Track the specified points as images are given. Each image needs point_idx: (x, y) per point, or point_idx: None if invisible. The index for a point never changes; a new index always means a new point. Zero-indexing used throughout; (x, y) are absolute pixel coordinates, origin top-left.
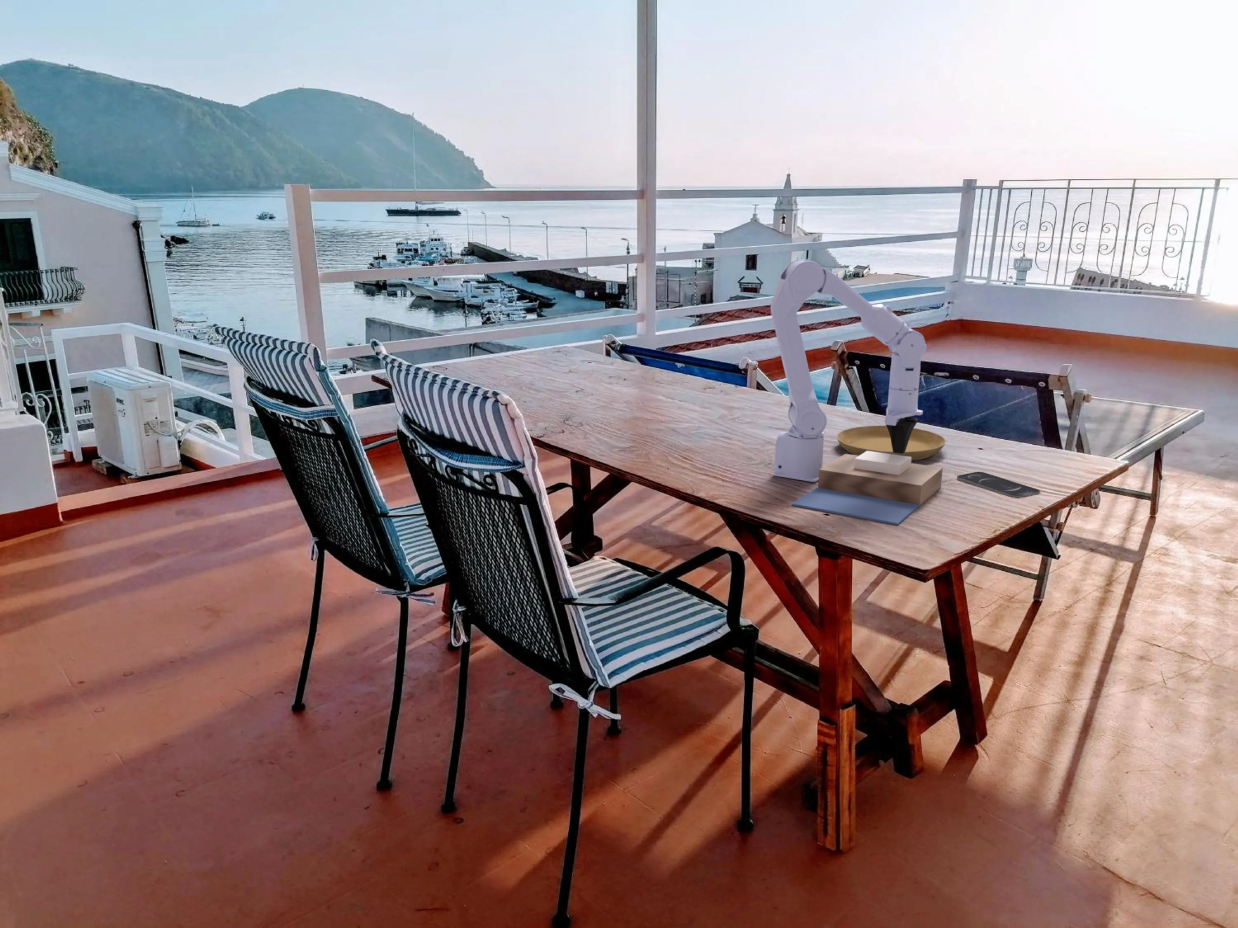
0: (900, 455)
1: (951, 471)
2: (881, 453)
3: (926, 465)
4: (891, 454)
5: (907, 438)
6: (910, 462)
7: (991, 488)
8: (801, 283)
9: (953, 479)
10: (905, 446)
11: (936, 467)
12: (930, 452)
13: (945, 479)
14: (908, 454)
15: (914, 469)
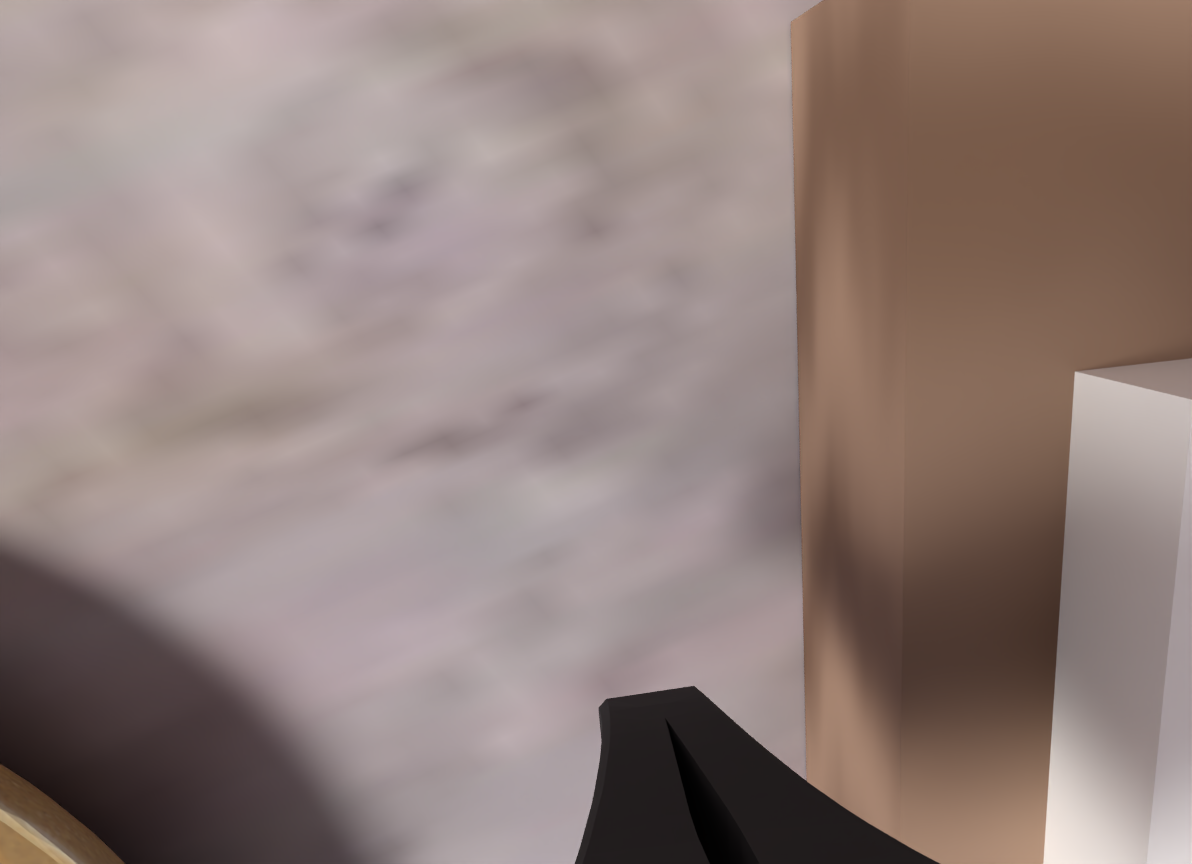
0: (1177, 572)
1: (17, 158)
2: (1185, 819)
3: (911, 211)
4: (1181, 694)
5: (750, 818)
6: (1151, 381)
7: None
8: None
9: (374, 2)
10: (706, 733)
11: (946, 36)
12: None
13: (441, 91)
14: (17, 790)
15: (1186, 272)
